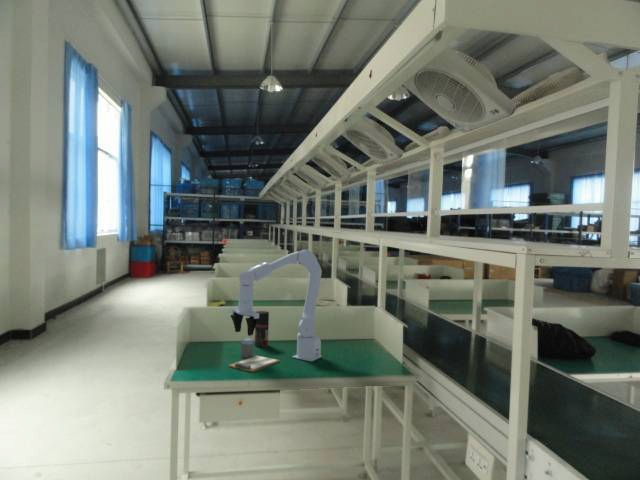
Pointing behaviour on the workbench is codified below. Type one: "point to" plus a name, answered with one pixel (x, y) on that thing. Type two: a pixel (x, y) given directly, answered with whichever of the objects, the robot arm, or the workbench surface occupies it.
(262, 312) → the deodorant
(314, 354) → the robot arm
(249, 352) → the block
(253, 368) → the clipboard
